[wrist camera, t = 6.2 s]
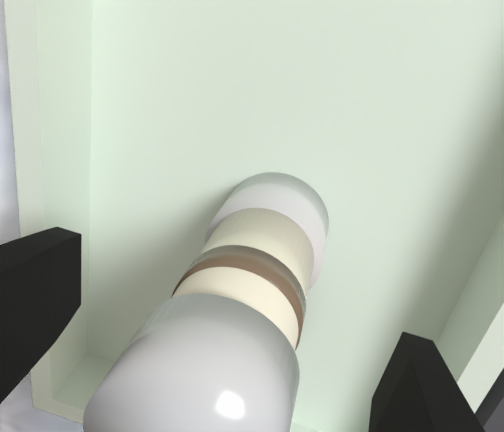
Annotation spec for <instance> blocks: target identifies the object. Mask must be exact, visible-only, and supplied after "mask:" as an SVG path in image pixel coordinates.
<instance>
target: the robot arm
mask: <svg viewBox="0 0 504 432" xmlns="http://www.w3.org/2000/svg"><path fill="white" fill-rule="evenodd" d="M81 244H82V234H80V233H77V232H73V231H70V230H67V229H63V228H60V227H54V228H50V229H46V230H43V231H40V232H37V233H34V234H31V235H28V236H25V237H22V238H19V239H16V240H13V241H10V242H8V243H5V244H2V245H0V404H1V402H2V401H3V400H4V399H5V398H6V397H7V396H8V395H9V394H10V392H11V391H12V390H13V389H14V388H15V387H16V386H17V385H18V384H19V383H20V381H21V380H22V379H23V378H24V377H25V376H26V375H27V374H28V373H29V371H30V370H31V369H32V368H33V367H34V366H35V365H36V364H37V362H38V361H39V360H40V359H41V358H42V357H43V356H44V355H45V353H46V352H47V351H48V350H49V349H50V348H51V347H52V345H53V344H54V343H55V342H56V341H57V339H58V338H59V336H60V335H61V334H62V332H63V331H64V329H65V328H66V327H67V325H68V324H69V322H70V321H71V319H72V318H73V316H74V315H75V313H76V312H77V310H78V309H79V307H80V306H81ZM368 432H485V430H484V429H483V427H482V425H481V424H480V422H479V420H478V419H477V417H476V415H475V414H474V412H473V410H472V409H471V407H470V405H469V404H468V402H467V400H466V398H465V397H464V395H463V393H462V391H461V390H460V388H459V386H458V384H457V383H456V381H455V379H454V377H453V375H452V374H451V372H450V370H449V368H448V366H447V365H446V363H445V361H444V359H443V358H442V356H441V354H440V352H439V350H438V349H437V347H436V345H435V343H434V342H433V340H430V339H427V338H423V337H420V336H417V335H413V334H410V333H407V332H402V334H401V336H400V338H399V341H398V343H397V345H396V347H395V349H394V351H393V354H392V356H391V358H390V360H389V362H388V364H387V367H386V369H385V371H384V373H383V375H382V377H381V380H380V382H379V384H378V386H377V388H376V390H375V393H374V395H373V397H372V401H371V411H370V420H369V431H368Z"/></svg>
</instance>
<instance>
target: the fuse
mask: <svg viewBox="0 0 504 432" xmlns="http://www.w3.org/2000/svg"><path fill="white" fill-rule="evenodd" d="M328 230H329V217H328V213H327V209H326V207H325V204H324V202H323V201H322V199H321V197H320V196H319V195H318V193H317V192H316V191H315V190H314V189H313V188H312V187H311V186H309V185H308V184H307V183H306V182H304V181H302V180H301V179H299V178H296V177H294V176H292V175H288V174H284V173H278V172H265V173H260V174H256V175H253V176H251V177H249V178H247V179H245V180H244V181H242V182H241V183H240V184H239V185H238V186H237V187H236V188H235V189H234V190H233V191H232V193H231V194H230V196H229V197H228V199H227V200H226V202H225V203H224V205H223V206H222V207H221V209H220V210H219V212H218V213H217V215H216V216H215V218H214V219H213V221H212V222H211V224H210V226H209V227H208V230H207V233H206V237H205V245H204V246H205V247H204V248H203V250H202V251H201V253H200V255H199V256H198V257H197V258H196V259H195V260H194V261H193V262H192V263H191V264H190V266H189V267H188V269H187V270H186V272H185V273H184V275H183V276H182V278H181V280H180V281H179V283H178V284H177V286H176V287H175V289H174V291H173V294H172V296H171V299H168V300H166V301H164V302H162V303H161V304H159V305H158V306H156V307H155V308H154V309H153V310H152V311H151V312H150V313H149V314H148V315H147V317H146V318H145V320H144V321H143V323H142V324H141V325H140V327H139V328H138V330H137V331H136V333H135V334H134V336H133V337H132V339H131V340H130V342H129V343H128V344H127V346H126V347H125V349H124V350H123V352H122V353H121V355H120V356H119V358H118V359H117V360H116V362H115V363H114V365H113V366H112V368H111V369H110V371H109V372H108V374H107V375H106V376H105V378H104V379H103V381H102V382H101V384H100V385H99V387H98V388H97V390H96V391H95V393H94V394H93V395H92V397H91V398H90V400H89V402H88V404H87V405H86V408H85V411H84V416H83V429H84V432H290V427H291V422H292V417H293V411H294V406H295V401H296V396H297V391H298V386H299V380H300V370H299V363H298V360H297V356H296V353H295V351H296V349H297V347H298V344H299V341H300V337H301V332H302V327H303V323H304V318H305V313H306V299H307V294H308V291H309V290H310V289H311V287H312V286H313V285H314V284H315V282H316V280H317V279H318V276H319V274H320V271H321V266H322V261H323V256H324V251H325V246H326V241H327V235H328Z"/></svg>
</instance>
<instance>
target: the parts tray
mask: <svg viewBox="0 0 504 432" xmlns="http://www.w3.org/2000/svg"><path fill="white" fill-rule="evenodd" d="M4 9H5V23H6V37H7V51H8V65H9V80H10V94H11V108H12V122H13V136H14V150H15V164H16V178H17V192H18V206H19V220H20V235H21V238H22V237H25V236H28V235H31V234H34V233H37V232H40V231H43V230H46V229H50V228H54V227H60V228H63V229H67V230H70V231H73V232H77V233H80V234H82V244H81V306H80V307H79V309H78V310H77V312H76V313H75V315H74V316H73V318H72V319H71V321H70V322H69V324H68V325H67V327H66V328H65V329H64V331H63V332H62V334H61V335H60V336H59V338H58V339H57V341H56V342H55V343H54V344H53V345H52V347H51V348H50V349H49V350H48V351H47V352H46V353H45V355H44V356H43V357H42V358H41V359H40V360H39V361H38V362H37V364H36V365H35V366H34V367H33V368H32V369H31V370H30V375H31V390H32V404H33V407H35V408H38V409H41V410H43V411H46V412H49V413H52V414H55V415H57V416H60V417H63V418H66V419H69V420H71V421H74V422H77V423H80V424H83V416H84V411H85V408H86V405H87V404H88V402H89V400H90V398H91V397H92V395H93V394H94V393H95V391H96V390H97V388H98V387H99V385H100V384H101V382H102V381H103V379H104V378H105V376H106V375H107V374H108V372H109V371H110V369H111V368H112V366H113V365H114V363H115V362H116V360H117V359H118V358H119V356H120V355H121V353H122V352H123V350H124V349H125V347H126V346H127V344H128V343H129V342H130V340H131V339H132V337H133V336H134V334H135V333H136V331H137V330H138V328H139V327H140V325H141V324H142V323H143V321H144V320H145V318H146V317H147V315H148V314H149V313H150V312H151V311H152V310H153V309H154V308H155V307H156V306H158V305H159V304H161V303H162V302H164V301H166V300H168V299H171V296H172V294H173V291H174V289H175V287H176V286H177V284H178V283H179V281H180V280H181V278H182V276H183V275H184V273H185V272H186V270H187V269H188V267H189V266H190V264H191V263H192V262H193V261H194V260H195V259H196V258H197V257H198V256H199V255H200V253H201V251H202V250H203V248H204V247H205V246H204V245H205V237H206V233H207V230H208V227H209V226H210V224H211V222H212V221H213V219H214V218H215V216H216V215H217V213H218V212H219V210H220V209H221V207H222V206H223V205H224V203H225V202H226V200H227V199H228V197H229V196H230V194H231V193H232V191H233V190H234V189H235V188H236V187H237V186H238V185H239V184H240V183H241V182H242V181H244V180H245V179H247V178H249V177H251V176H253V175H256V174H260V173H265V172H278V173H284V174H288V175H292V176H294V177H296V178H299V179H301V180H302V181H304V182H306V183H307V184H308V185H309V186H311V187H312V188H313V189H314V190H315V191H316V192H317V193H318V195H319V196H320V197H321V199H322V201H323V202H324V204H325V207H326V209H327V213H328V217H329V230H328V235H327V241H326V246H325V251H324V256H323V261H322V266H321V271H320V274H319V276H318V279H317V280H316V282H315V284H314V285H313V286H312V287H311V289H310V290H309V291H308V294H307V299H306V313H305V318H304V323H303V327H302V332H301V337H300V341H299V344H298V347H297V349H296V351H295V353H296V356H297V360H298V363H299V370H300V380H299V386H298V391H297V396H296V401H295V406H294V411H293V417H292V422H291V427H290V432H368V431H369V420H370V411H371V401H372V397H373V395H374V393H375V390H376V388H377V386H378V384H379V382H380V380H381V377H382V375H383V373H384V371H385V369H386V367H387V364H388V362H389V360H390V358H391V356H392V354H393V351H394V349H395V347H396V345H397V343H398V341H399V338H400V336H401V334H402V332H407V333H410V334H413V335H417V336H420V337H423V338H427V339H430V340H433V342H434V343H435V345H436V347H437V349H438V350H439V352H440V354H441V356H442V358H443V359H444V361H445V363H446V365H447V366H448V368H449V370H450V372H451V374H452V375H453V377H454V379H455V381H456V383H457V384H458V386H459V388H460V390H461V391H462V393H463V395H464V397H465V398H466V400H467V402H468V404H469V405H470V407H471V409H472V410H473V412H474V414H475V412H476V410H477V409H478V407H479V406H480V404H481V403H482V401H483V399H484V398H485V396H486V395H487V393H488V392H489V390H490V388H491V387H492V385H493V384H494V382H495V381H496V379H497V377H498V376H499V374H500V373H501V371H502V370H503V368H504V0H4Z"/></svg>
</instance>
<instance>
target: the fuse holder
mask: <svg viewBox="0 0 504 432" xmlns="http://www.w3.org/2000/svg"><path fill="white" fill-rule="evenodd" d="M475 415H476V417H477V419H478V420H479V422H480V424H481V425H482V427H483V429H484V430H485V432H504V368H503V370H502V371H501V373H500V374H499V376H498V377H497V379H496V381H495V382H494V384H493V385H492V387H491V388H490V390H489V392H488V393H487V395H486V396H485V398H484V399H483V401H482V403H481V404H480V406H479V407H478V409H477V410H476V412H475Z"/></svg>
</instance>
